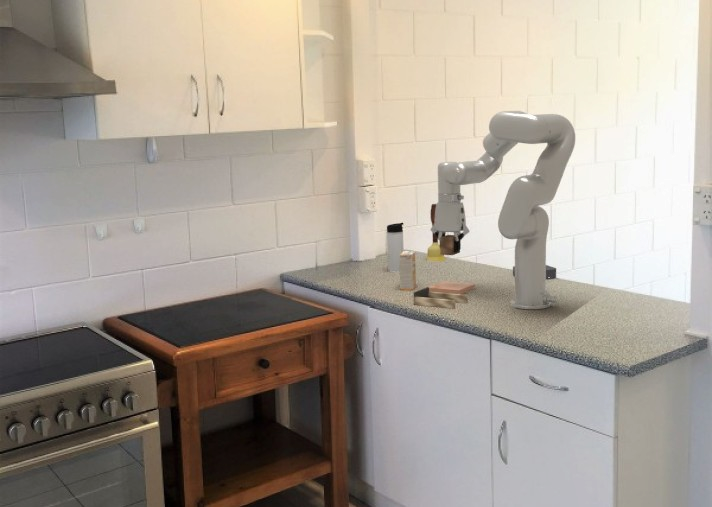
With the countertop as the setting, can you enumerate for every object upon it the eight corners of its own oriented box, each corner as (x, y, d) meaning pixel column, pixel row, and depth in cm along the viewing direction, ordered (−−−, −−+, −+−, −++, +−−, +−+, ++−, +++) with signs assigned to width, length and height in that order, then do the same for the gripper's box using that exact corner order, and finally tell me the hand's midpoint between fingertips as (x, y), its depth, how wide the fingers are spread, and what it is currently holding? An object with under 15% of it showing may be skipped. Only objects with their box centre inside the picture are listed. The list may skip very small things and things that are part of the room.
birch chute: (467, 302, 258) (467, 290, 258) (454, 308, 251) (454, 296, 250) (427, 298, 266) (427, 287, 266) (413, 304, 259) (413, 292, 258)
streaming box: (558, 281, 288) (558, 268, 287) (526, 284, 284) (526, 271, 284) (541, 275, 300) (541, 263, 299) (510, 278, 296) (510, 266, 296)
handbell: (438, 260, 340) (436, 201, 336) (457, 264, 330) (455, 203, 326) (415, 264, 334) (413, 204, 330) (433, 268, 323) (431, 206, 319)
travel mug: (405, 275, 310) (403, 223, 307) (388, 275, 310) (386, 224, 307) (404, 272, 316) (403, 221, 313) (388, 272, 317) (386, 222, 313)
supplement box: (413, 291, 280) (412, 254, 278) (400, 291, 281) (398, 254, 279) (416, 286, 288) (415, 250, 286) (403, 286, 289) (402, 250, 287)
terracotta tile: (474, 289, 278) (474, 283, 278) (459, 296, 269) (459, 290, 268) (444, 286, 285) (444, 281, 285) (427, 293, 275) (427, 287, 275)
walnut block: (459, 252, 276) (459, 235, 275) (452, 255, 271) (451, 237, 270) (448, 251, 279) (447, 234, 278) (440, 254, 274) (440, 237, 273)
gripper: (476, 198, 270) (477, 251, 273) (432, 196, 280) (433, 248, 283) (466, 200, 264) (467, 254, 267) (422, 199, 273) (423, 251, 276)
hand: (450, 251), depth 275 cm, fingers closed on walnut block, 4 cm apart
